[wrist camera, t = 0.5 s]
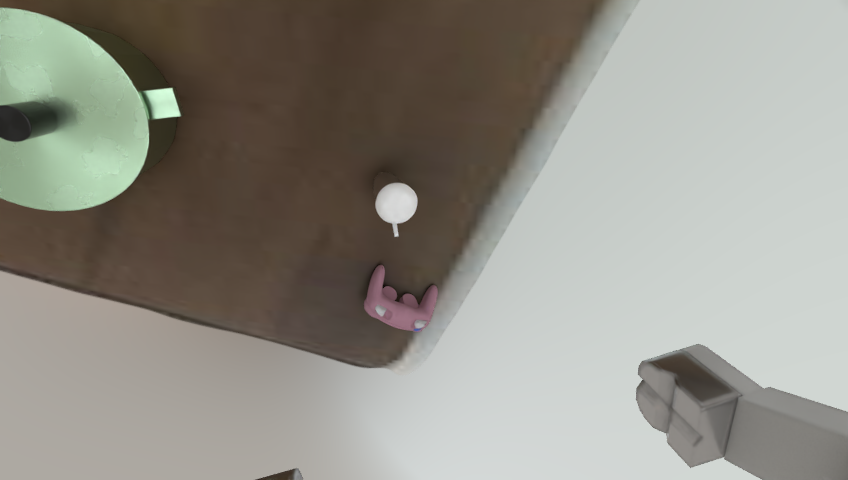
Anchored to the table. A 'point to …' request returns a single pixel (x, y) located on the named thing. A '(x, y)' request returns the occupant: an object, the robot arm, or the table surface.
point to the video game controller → (398, 304)
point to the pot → (145, 91)
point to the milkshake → (393, 199)
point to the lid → (65, 116)
